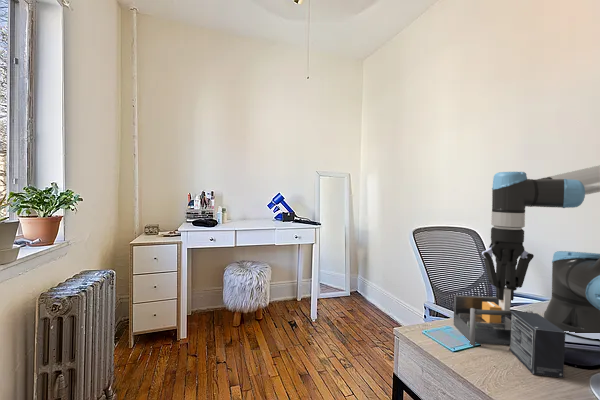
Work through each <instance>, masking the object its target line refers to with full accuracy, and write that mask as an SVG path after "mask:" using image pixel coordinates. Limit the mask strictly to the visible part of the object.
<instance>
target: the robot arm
mask: <svg viewBox="0 0 600 400" xmlns="http://www.w3.org/2000/svg"><path fill="white" fill-rule="evenodd" d="M492 179H493V180H492V188H491V192H492V193H491V195H492V197H491V201H492V202H491V204H492V205H491V220H490V221H491V226H492V227H491V228H490V241H491V242H490V244H489V246H488V248H487V249H486V250H480V253H479V254H480V256H481V257H482V258H483V261H484V265H485V270H486V274H487V275H486V276H487V278H488V283H489V284H490V285H491V286H494V287H495V289H496V292H495V293H496V294H495V297H497V298H498V299H499V306H500V307H501V311H511V303H512V302H511V301H514V297H515V295H514V294H515V293H514V292H515V291H517V290H518V289H519V288H522V287H523V285H524V281H525V279H526V274H527V272H528V270H529V265H530V262H531V261H532V260H533V258H534V256H535V255H534V254H533V253H531V252H528V251H526V250H525V246H524V241H525V230H524V229H523V228H524V227H525V226H526V221H525V220H526V207H528V208H529V207H530V208H531V207H532V208H533V207H535V208H561V209H566V208H568V209H569V208H570V209H574V208H578V207H580V206H581V205H582V204H583V203H584V200H585V198H586V195H591V194H595V193H600V164H598V165H595V166H591V167H586V168H582V169H577V170H572V171H568V172H564V173H560V174H559V173H558V174H554V175H550V176H547V177H541V178H537V179H532V178H531V179H530V178H528V177H527V173H526V172H525V171H500V172H496V173H495V174H494V175H493V177H492ZM493 256H494V258H495V259H494V260H495V263H496V265H495V263H494V260H493ZM551 264H552V267H551V298H550V301H549V303H548V304H547V307H546V309H545V311H543V318H545V319H546V320H548V321H549V322H551V323H552V324H554V325H555V326H557V327H558V328H560V329H561V330H563V331H569V332H575V333H600V253H596V252H587V251H586V252H584V251H570V250H569V251H568V250H567V251H566V250H558V251H557V250H556V251H554V253H553V255H552V260H551Z"/></svg>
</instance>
